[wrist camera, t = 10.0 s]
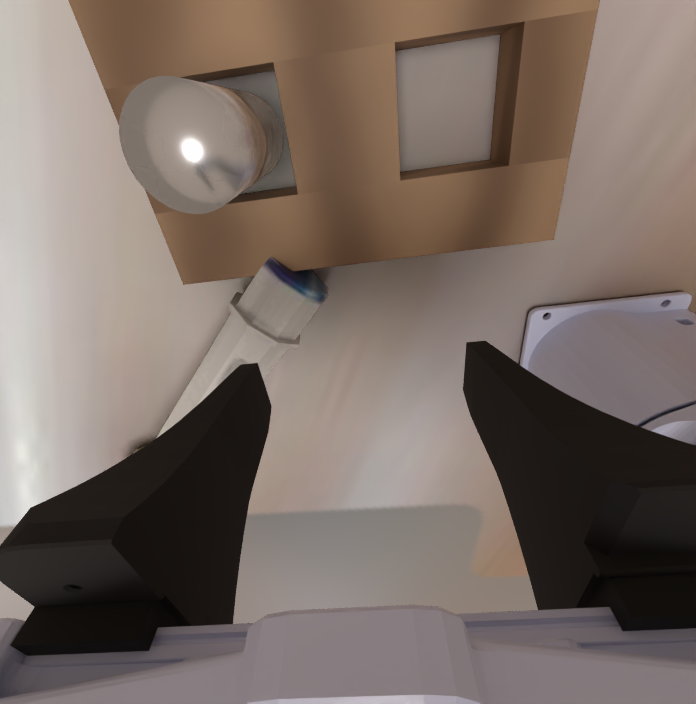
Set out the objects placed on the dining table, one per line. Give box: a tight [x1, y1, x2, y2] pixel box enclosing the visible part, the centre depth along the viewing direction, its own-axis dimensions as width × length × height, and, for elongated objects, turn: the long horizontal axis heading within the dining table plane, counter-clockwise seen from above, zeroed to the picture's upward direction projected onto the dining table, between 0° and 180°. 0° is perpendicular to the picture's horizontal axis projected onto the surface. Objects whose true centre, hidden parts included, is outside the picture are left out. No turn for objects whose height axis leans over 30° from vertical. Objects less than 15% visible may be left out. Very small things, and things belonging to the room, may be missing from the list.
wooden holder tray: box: [69, 0, 600, 285], centre depth 16 cm, size 19×12×2 cm, turn 97°
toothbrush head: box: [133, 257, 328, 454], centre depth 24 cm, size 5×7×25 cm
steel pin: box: [119, 76, 283, 214], centre depth 14 cm, size 4×4×8 cm
